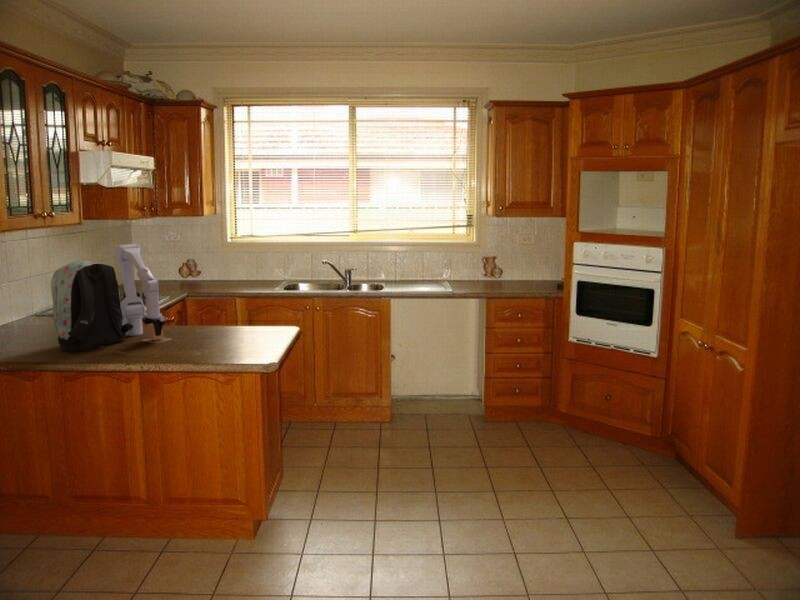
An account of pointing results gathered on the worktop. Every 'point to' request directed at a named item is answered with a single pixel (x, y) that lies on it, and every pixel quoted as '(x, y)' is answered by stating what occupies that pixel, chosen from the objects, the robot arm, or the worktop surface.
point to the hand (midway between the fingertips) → (154, 334)
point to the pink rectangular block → (153, 332)
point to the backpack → (87, 306)
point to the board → (157, 340)
